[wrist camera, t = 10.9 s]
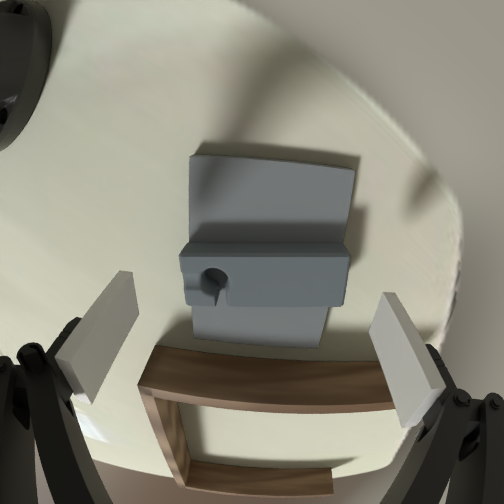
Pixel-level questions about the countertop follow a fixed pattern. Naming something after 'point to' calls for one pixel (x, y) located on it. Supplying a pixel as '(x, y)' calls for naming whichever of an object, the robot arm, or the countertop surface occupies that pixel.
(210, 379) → the u-shaped wooden frame
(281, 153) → the countertop surface
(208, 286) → the bracket
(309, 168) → the slate mat
